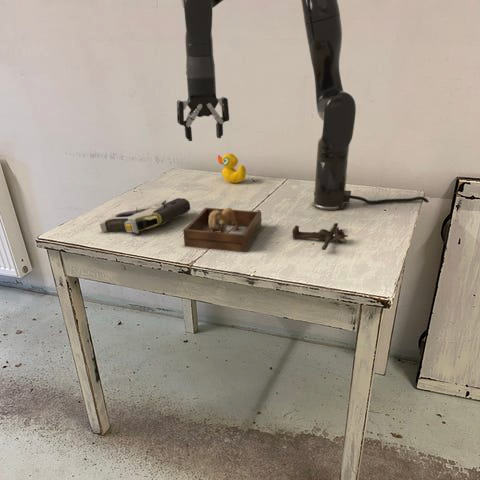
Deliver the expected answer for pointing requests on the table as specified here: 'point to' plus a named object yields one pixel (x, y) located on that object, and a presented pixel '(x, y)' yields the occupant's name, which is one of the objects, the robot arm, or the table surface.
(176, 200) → the toy blaster
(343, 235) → the brown humanoid figurine
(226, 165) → the duckling
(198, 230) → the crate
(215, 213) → the lion figurine
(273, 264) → the table surface
